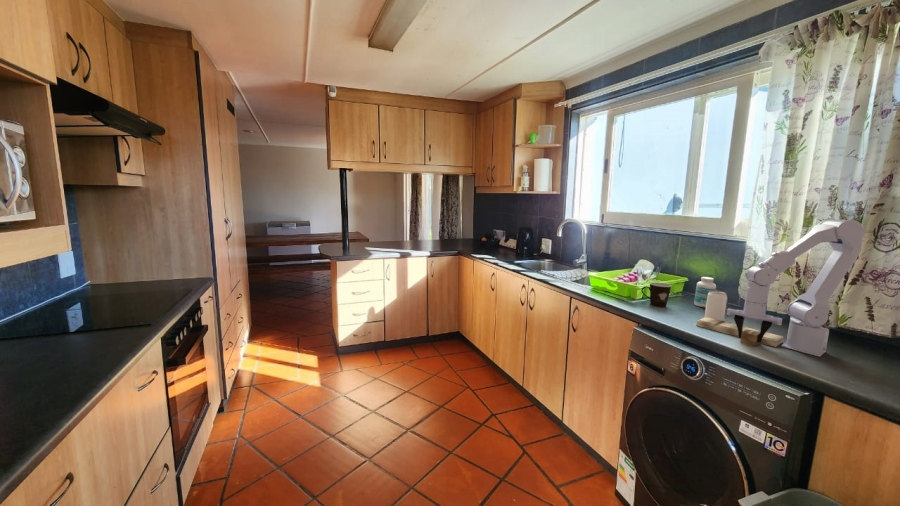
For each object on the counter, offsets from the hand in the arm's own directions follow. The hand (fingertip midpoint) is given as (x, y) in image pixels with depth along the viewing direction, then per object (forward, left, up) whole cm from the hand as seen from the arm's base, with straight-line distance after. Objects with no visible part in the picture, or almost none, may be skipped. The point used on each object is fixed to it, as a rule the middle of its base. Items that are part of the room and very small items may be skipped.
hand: (749, 339), depth 125 cm
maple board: (+6, -8, -1) cm, 10 cm away
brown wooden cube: (0, 0, -1) cm, 1 cm away
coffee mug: (+41, -18, -2) cm, 44 cm away
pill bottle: (+28, -37, -2) cm, 46 cm away
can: (+17, -18, -2) cm, 24 cm away
